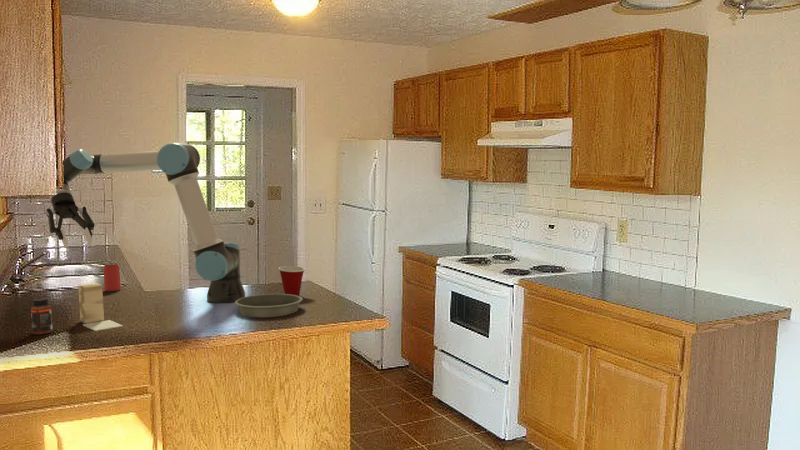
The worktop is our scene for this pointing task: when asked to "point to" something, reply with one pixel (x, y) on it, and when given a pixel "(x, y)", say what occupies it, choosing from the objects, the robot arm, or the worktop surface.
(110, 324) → the mat
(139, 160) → the robot arm
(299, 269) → the plastic cup
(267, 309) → the cake pan
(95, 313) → the beech block
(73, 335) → the worktop surface
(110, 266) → the beer can
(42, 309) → the supplement bottle
